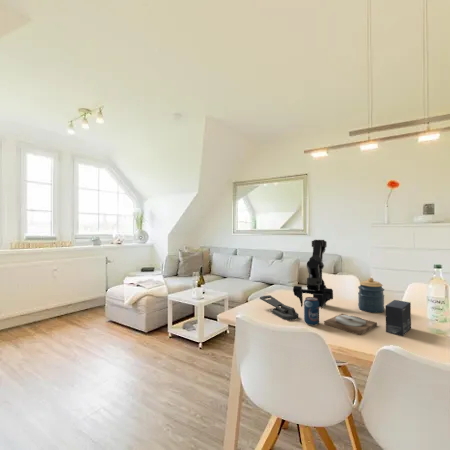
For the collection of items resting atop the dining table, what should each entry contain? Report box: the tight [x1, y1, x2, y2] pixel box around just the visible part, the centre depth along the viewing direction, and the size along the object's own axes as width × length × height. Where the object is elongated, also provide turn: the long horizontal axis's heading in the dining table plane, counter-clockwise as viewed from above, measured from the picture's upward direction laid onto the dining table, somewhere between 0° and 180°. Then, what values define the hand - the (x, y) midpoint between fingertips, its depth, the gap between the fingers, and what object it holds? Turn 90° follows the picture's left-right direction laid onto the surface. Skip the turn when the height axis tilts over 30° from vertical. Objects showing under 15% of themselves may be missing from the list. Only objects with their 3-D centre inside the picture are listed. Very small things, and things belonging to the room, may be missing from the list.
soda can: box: [303, 296, 320, 327], centre depth 133 cm, size 7×7×12 cm
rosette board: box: [323, 313, 378, 336], centre depth 131 cm, size 17×17×3 cm
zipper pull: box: [259, 295, 299, 321], centre depth 150 cm, size 9×7×25 cm
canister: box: [357, 277, 385, 314], centre depth 154 cm, size 13×13×18 cm
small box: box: [384, 299, 412, 337], centre depth 124 cm, size 13×7×12 cm, turn 133°
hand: (311, 307), depth 133 cm, fingers open, 9 cm apart
